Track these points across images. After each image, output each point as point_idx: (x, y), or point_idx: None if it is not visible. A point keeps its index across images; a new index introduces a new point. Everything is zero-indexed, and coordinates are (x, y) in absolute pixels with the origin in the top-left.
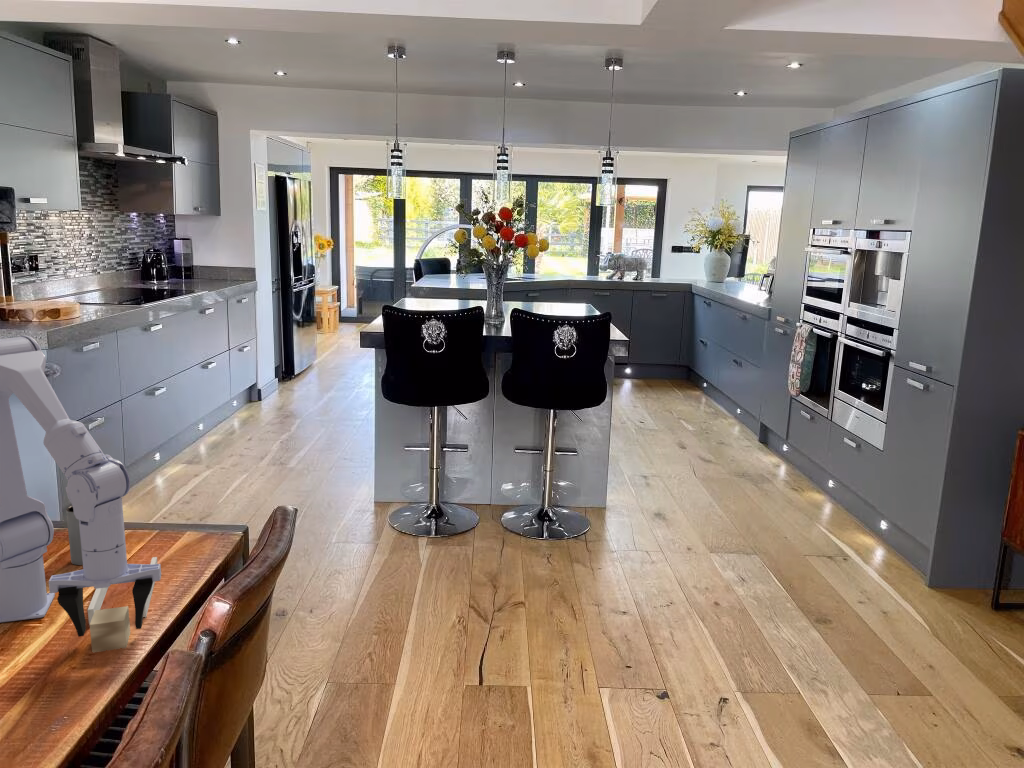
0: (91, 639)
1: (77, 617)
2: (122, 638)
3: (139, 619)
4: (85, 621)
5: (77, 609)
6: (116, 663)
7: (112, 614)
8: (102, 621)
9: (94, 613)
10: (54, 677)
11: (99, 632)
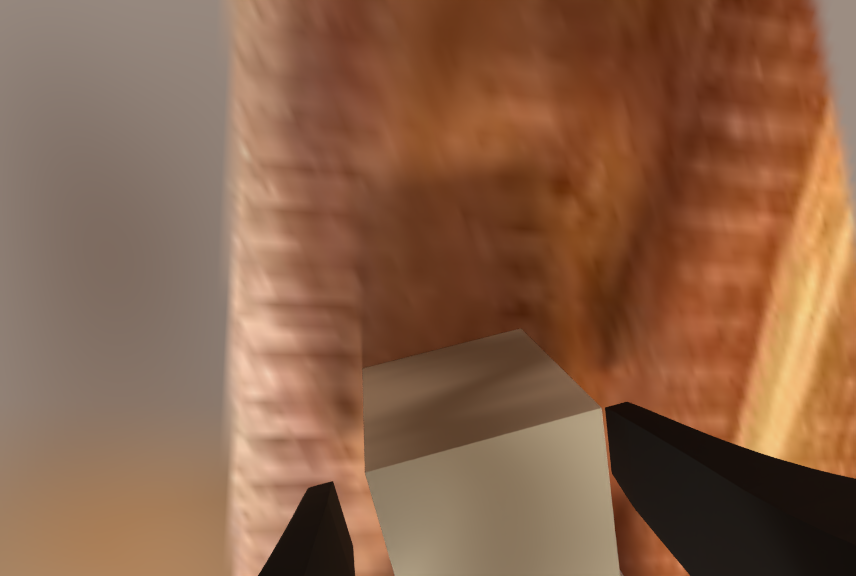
0: (548, 358)
1: (718, 465)
2: (379, 391)
3: (292, 527)
4: (639, 511)
5: (778, 505)
6: (352, 212)
7: (487, 547)
8: (524, 453)
9: (613, 554)
10: (631, 94)
11: (517, 389)
